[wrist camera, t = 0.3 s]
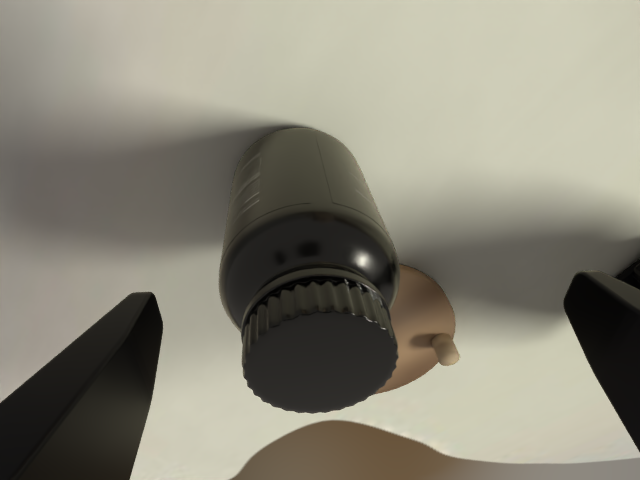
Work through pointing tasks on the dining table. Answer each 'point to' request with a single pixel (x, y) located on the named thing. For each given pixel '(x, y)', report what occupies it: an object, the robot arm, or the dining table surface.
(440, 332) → the dowel base
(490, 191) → the dining table surface
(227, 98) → the dining table surface
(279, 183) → the supplement bottle
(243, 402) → the dining table surface
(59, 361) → the robot arm
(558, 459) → the dining table surface
